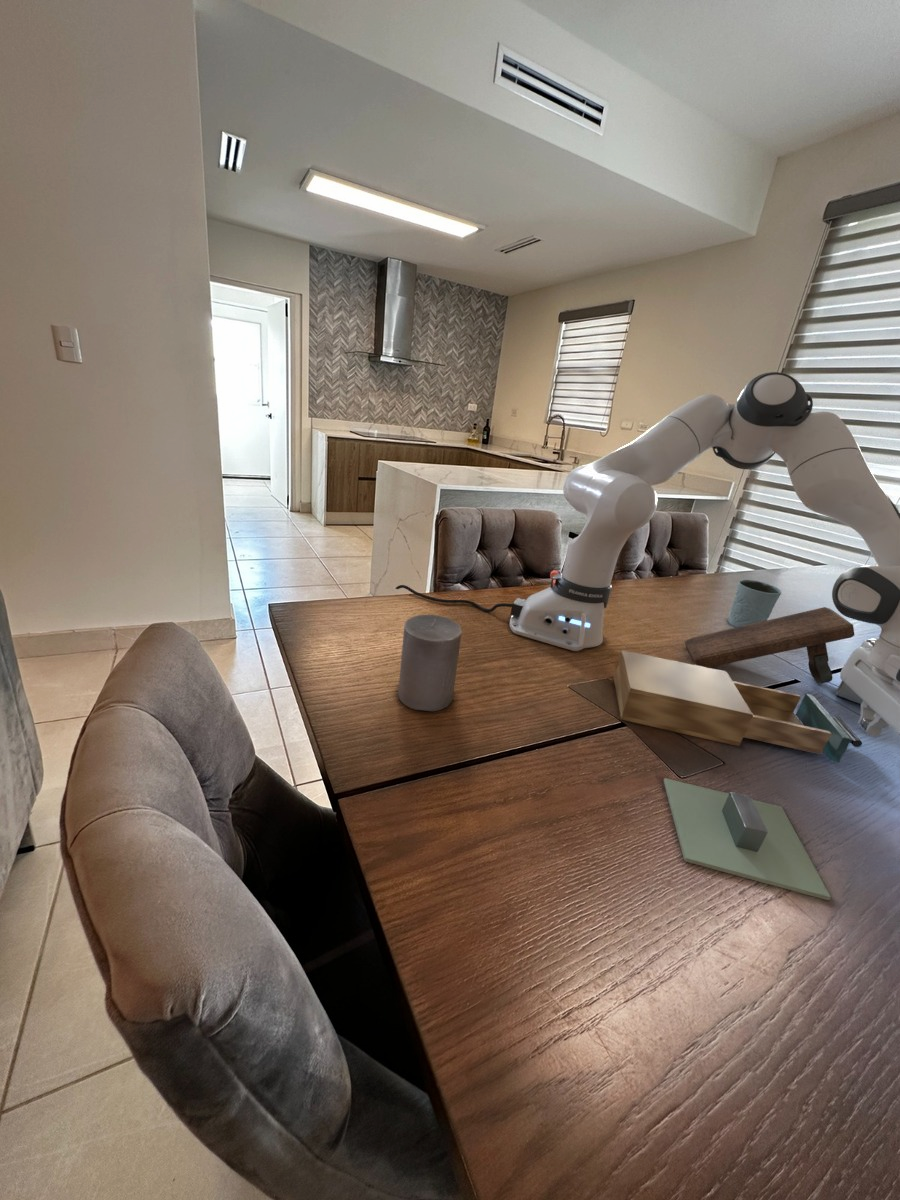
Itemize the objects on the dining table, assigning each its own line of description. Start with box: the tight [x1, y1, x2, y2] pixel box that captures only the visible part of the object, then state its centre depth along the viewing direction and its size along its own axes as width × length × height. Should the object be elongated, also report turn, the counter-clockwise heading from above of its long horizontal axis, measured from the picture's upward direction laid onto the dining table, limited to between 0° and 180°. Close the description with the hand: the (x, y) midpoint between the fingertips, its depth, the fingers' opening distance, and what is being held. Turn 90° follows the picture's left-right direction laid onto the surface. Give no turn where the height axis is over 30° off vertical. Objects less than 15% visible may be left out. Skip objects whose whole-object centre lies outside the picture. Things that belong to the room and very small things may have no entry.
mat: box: [663, 777, 832, 901], centre depth 62 cm, size 16×14×1 cm
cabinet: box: [613, 649, 753, 747], centre depth 87 cm, size 20×15×7 cm
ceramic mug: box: [835, 680, 863, 705], centre depth 99 cm, size 11×8×8 cm
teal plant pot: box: [727, 579, 782, 628], centre depth 130 cm, size 10×10×12 cm
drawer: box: [732, 680, 863, 763], centre depth 84 cm, size 23×13×5 cm, turn 77°
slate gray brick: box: [722, 791, 768, 852], centre depth 61 cm, size 3×6×4 cm, turn 167°
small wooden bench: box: [684, 606, 855, 685], centre depth 106 cm, size 10×16×30 cm
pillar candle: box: [397, 614, 463, 712], centre depth 80 cm, size 10×10×15 cm
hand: (866, 730), depth 81 cm, fingers closed
